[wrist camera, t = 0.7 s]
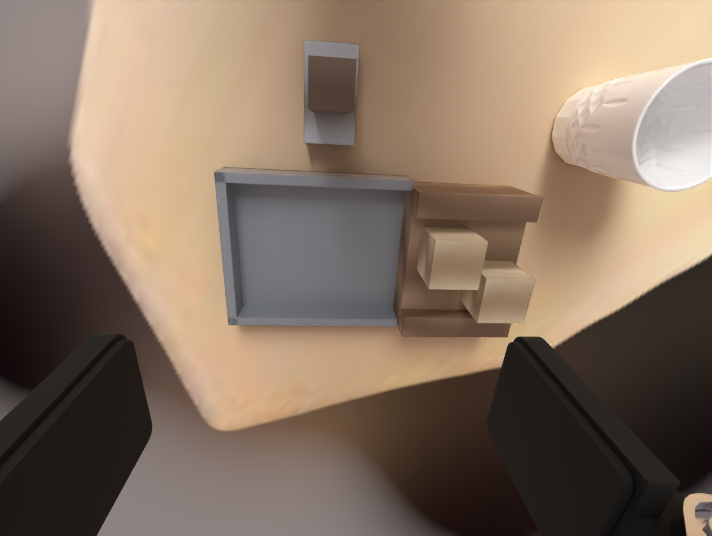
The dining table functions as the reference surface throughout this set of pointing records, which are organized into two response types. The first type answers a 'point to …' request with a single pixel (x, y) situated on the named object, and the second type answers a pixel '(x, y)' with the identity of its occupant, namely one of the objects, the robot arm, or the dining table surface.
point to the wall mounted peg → (330, 92)
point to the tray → (309, 246)
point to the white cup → (642, 127)
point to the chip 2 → (500, 294)
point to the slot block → (456, 209)
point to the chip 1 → (451, 257)
